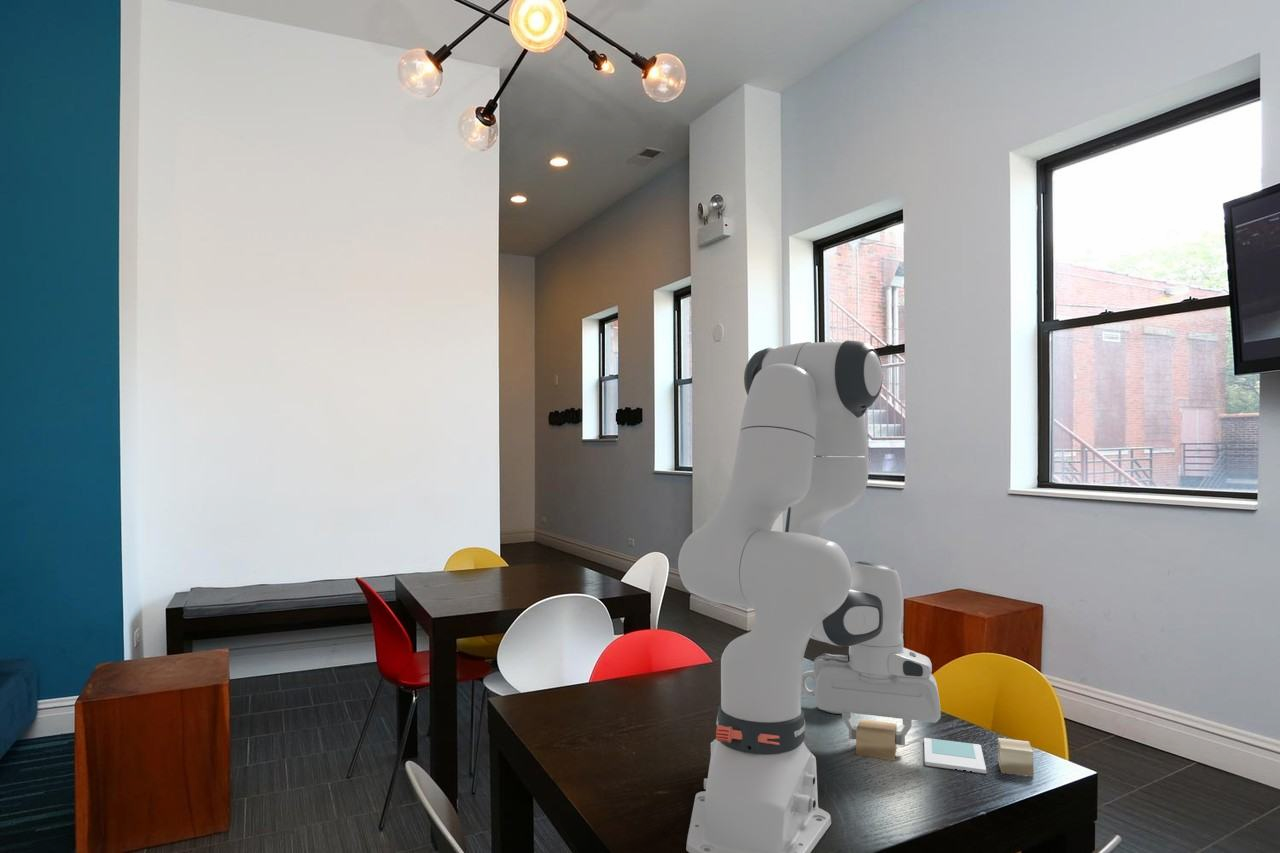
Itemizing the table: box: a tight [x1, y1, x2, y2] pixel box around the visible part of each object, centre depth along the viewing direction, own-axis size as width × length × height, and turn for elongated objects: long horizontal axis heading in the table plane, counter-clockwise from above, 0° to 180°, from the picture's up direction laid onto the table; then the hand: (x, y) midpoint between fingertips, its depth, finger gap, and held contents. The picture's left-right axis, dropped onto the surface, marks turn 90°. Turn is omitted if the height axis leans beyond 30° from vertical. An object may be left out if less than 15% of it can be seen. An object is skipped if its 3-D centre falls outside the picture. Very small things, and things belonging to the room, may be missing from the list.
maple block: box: [997, 737, 1035, 777], centre depth 119 cm, size 4×4×4 cm
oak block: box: [855, 718, 898, 761], centre depth 126 cm, size 6×6×4 cm
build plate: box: [923, 737, 987, 774], centre depth 123 cm, size 11×9×1 cm
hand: (876, 741), depth 126 cm, fingers closed on oak block, 6 cm apart
